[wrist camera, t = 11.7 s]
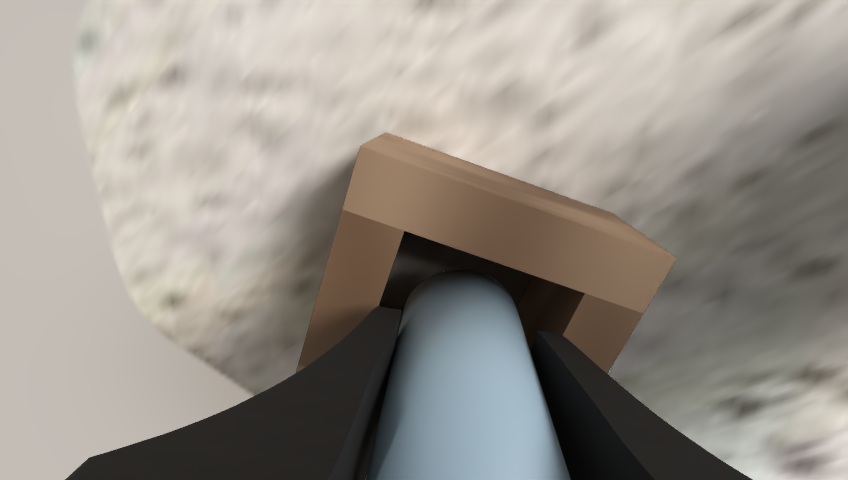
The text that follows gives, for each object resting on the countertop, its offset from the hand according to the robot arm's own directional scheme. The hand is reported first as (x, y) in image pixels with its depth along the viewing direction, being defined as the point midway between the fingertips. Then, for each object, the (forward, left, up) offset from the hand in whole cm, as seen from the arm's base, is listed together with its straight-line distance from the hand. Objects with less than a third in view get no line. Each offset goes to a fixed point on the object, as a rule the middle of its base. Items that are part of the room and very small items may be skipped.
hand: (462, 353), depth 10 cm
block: (0, 0, -5) cm, 5 cm away
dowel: (0, 0, -2) cm, 2 cm away
